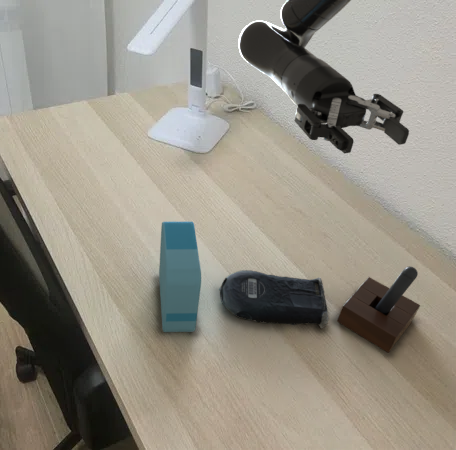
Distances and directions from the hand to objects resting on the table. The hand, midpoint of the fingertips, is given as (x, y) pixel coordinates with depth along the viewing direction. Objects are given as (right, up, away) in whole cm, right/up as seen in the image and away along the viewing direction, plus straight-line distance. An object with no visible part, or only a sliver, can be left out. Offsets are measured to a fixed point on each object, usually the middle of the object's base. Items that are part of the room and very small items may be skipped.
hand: (378, 143), depth 73 cm
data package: (-26, -23, +9) cm, 36 cm away
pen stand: (+3, -25, +8) cm, 26 cm away
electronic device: (-12, -23, +10) cm, 28 cm away
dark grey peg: (+2, -25, +8) cm, 26 cm away
